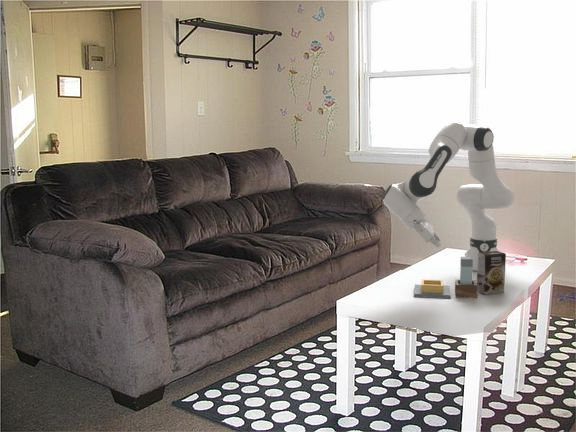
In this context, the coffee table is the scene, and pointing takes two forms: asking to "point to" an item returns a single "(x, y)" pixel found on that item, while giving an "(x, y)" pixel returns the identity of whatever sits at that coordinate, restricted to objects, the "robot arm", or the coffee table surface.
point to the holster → (466, 289)
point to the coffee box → (491, 272)
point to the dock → (432, 289)
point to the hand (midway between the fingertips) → (439, 243)
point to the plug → (466, 270)
